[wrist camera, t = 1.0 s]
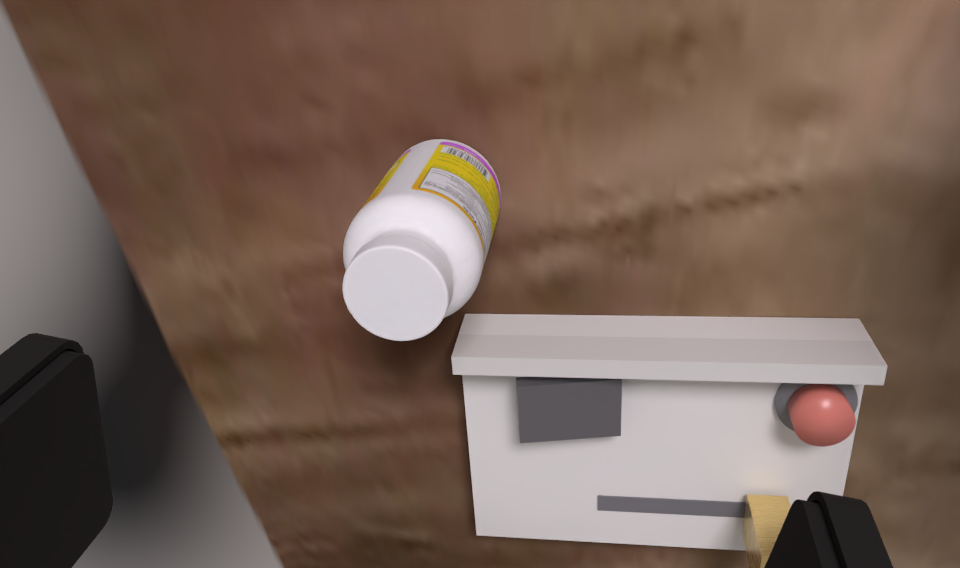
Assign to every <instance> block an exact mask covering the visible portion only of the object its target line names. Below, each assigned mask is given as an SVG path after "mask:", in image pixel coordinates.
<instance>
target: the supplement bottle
mask: <svg viewBox="0 0 960 568" xmlns="http://www.w3.org/2000/svg"><path fill="white" fill-rule="evenodd" d="M500 206H501V190H500V185H499V182H498V179H497V176H496V174H495V172H494V170H493V168H492V167H491V165H490V164H489V163H488V161H487V160H486V159H485V158H484V157H483V156H482V155H481V154H480V153H478V152H477V151H476V150H474V149H473V148H471V147H469V146H467V145H465V144H463V143H460V142H457V141H452V140H446V139H435V140H428V141H424V142H421V143H419V144H417V145H415V146H413V147H411V148H410V149H408V150H407V151H405V152H404V153H403V154H402V155H401V156H400V157H399V158H398V159H397V161H396V162H395V163H394V164H393V166H392V167H391V168H390V170H389V171H388V173H387V174H386V175H385V177H384V178H383V179H382V181H381V182H380V184H379V185H378V186H377V188H376V189H375V190H374V192H373V193H372V195H371V196H370V197H369V199H368V200H367V201H366V203H365V204H364V205H363V207H362V208H361V209H360V211H359V212H358V213H357V215H356V216H355V218H354V219H353V221H352V222H351V224H350V226H349V228H348V231H347V233H346V237H345V241H344V247H343V259H344V266H345V269H346V272H345V275H344V279H343V296H344V300H345V303H346V305H347V308H348V310H349V311H350V313H351V314H352V316H353V317H354V318H355V320H356V321H357V322H358V323H359V324H360V325H361V326H362V327H364V328H365V329H366V330H368V331H369V332H371V333H373V334H374V335H377V336H379V337H382V338H385V339H389V340H394V341H409V340H414V339H418V338H421V337H424V336H425V335H427V334H429V333H430V332H432V331H433V330H434V329H435V328H437V327H438V325H439V324H440V323H441V322H442V320H443V318H445V317H447V316H449V315H451V314H453V313H454V312H456V311H457V310H459V309H460V308H461V307H462V306H463V305H464V304H465V303H466V302H467V301H468V300H469V299H470V298H471V296H472V295H473V293H474V291H475V290H476V287H477V285H478V283H479V280H480V277H481V274H482V271H483V267H484V263H485V260H486V256H487V253H488V250H489V246H490V242H491V239H492V236H493V232H494V229H495V226H496V222H497V219H498V215H499V211H500Z"/></svg>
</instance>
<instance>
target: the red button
mask: <svg viewBox="0 0 960 568" xmlns="http://www.w3.org/2000/svg"><path fill="white" fill-rule="evenodd" d="M788 413H789V416H790V419H791V422H792V425H793V427H794V430H795V433H796V435H797V436H798V437H799V438H800V439H801V440H802V441H803V442H805V443H807V444H810V445H813V446H820V447H825V446H831V445H835V444H838V443H840V442H842V441H843V440H845V439H846V438H847V437H849V436H850V434H851V433H852V432H853V430H854V428H855V424H856V418H855V414H854V412H853V410H852V408H851V406H850V404H849V402H848V400H847V398H846V396H845V394H844V392H843V391H842V390H841V389H839V388H838V387H836V386H834V385H832V384H808V385H805V386H803V387H801V388H800V389H798V390H797V391H796V392H795V393H794V394H793V395H792V396H791V398H790V399H789V402H788Z"/></svg>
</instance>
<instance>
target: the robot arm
mask: <svg viewBox="0 0 960 568" xmlns="http://www.w3.org/2000/svg"><path fill="white" fill-rule="evenodd" d="M112 504H113V498H112V491H111V485H110V478H109V471H108V464H107V457H106V450H105V444H104V436H103V430H102V423H101V416H100V409H99V402H98V395H97V388H96V381H95V375H94V368H93V362H92V359H91V358H90V357H89V356H88V355H86V354H84V352H83V349H82V347H81V346H80V345H79V343H78V342H75V341H72V340H67V339H63V338H58V337H53V336H47V335H42V334H38V333H34V334H29V335H27V336H25V337H23V338H22V339H21V340H19V341H18V342H17V343H15V344H14V345H13V346H11V347H10V348H9V349H7V350H6V351H5V352H4V353H2V354H1V355H0V568H72V566H73V565H74V564H75V563H76V561H77V560H78V559H79V558H80V556H81V555H82V554H83V553H84V551H85V550H86V549H87V548H88V546H89V545H90V544H91V543H92V541H93V540H94V539H95V538H96V536H97V535H98V534H99V532H100V531H101V530H102V529H103V527H104V526H105V524H106V523H107V521H108V518H109V516H110V513H111V510H112ZM764 568H893V566H892V564H891V561H890V559H889V556H888V554H887V551H886V549H885V546H884V544H883V541H882V539H881V536H880V534H879V531H878V529H877V526H876V524H875V521H874V519H873V516H872V514H871V511H870V509H869V507H868V505H867V504H866V503H865V502H864V501H862V500H859V499H854V498H849V497H844V496H839V495H834V494H829V493H824V492H819V491H815V492H813V493H812V494H811V495H810V496H809V497H808V499H807V501H805V500H800V499H798V500H795V501H794V502H793V504H792V506H791V507H790V510H789V512H788V514H787V517H786V519H785V521H784V523H783V526H782V528H781V530H780V533H779V535H778V537H777V540H776V542H775V544H774V547H773V549H772V551H771V553H770V556H769V558H768V560H767V563H766V565H765V567H764Z"/></svg>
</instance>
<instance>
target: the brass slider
mask: <svg viewBox="0 0 960 568" xmlns="http://www.w3.org/2000/svg"><path fill="white" fill-rule="evenodd" d="M790 507H791V505H790V502H789V499H788V496H771V495H749V494H747V498H746V507H745V515H744V523H743V532H742V534H743V538H744V543H745V548H746V552H747V557H748V561H749V566H750V568H764V567H765V565H766V563H767V560H768V558H769V556H770V553H771V551H772V549H773V547H774V544H775V542H776V540H777V537H778V535H779V533H780V530H781V528H782V526H783V523H784V521H785V519H786V517H787V514H788V512H789V510H790Z"/></svg>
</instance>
